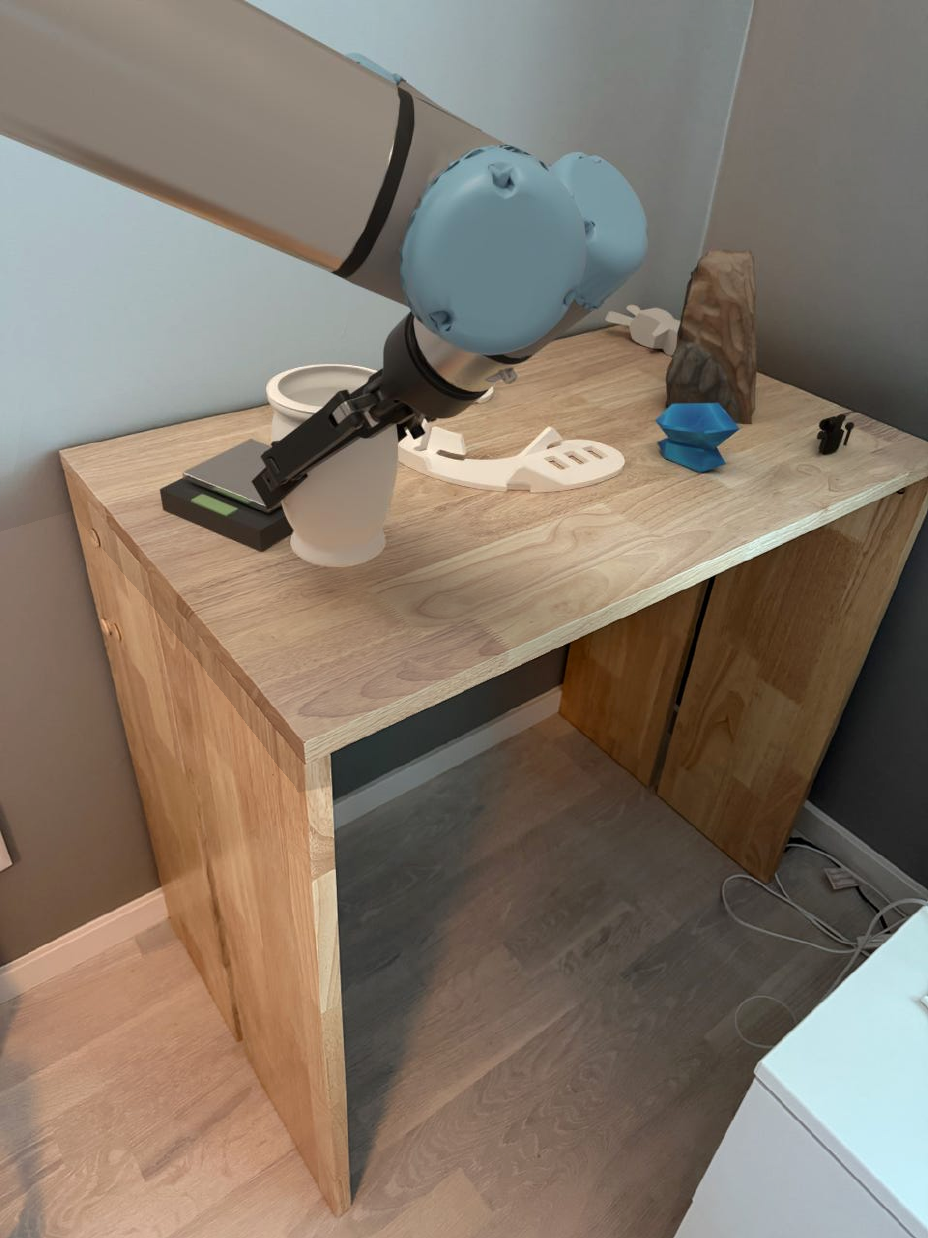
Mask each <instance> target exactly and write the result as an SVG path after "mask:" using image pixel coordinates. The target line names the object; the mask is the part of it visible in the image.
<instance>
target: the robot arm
mask: <svg viewBox="0 0 928 1238" xmlns="http://www.w3.org/2000/svg"><path fill="white" fill-rule="evenodd" d="M0 136H3V137H4V138H6V139H10V140H12V141H14V142H17V143H20V144H22V145H24V146H27V147H28V148H31V149H34V150H36V151H39V152H41V153H43V154H46V155H48V156H50V157H53V158H56V159H58V160H60V161H63V162H65V163H67V164H70V165H72V166H75V167H77V168H79V169H81V170H84V171H87V172H88V173H91V174H94V175H96V176H99V177H101V178H103V179H106V180H108V181H110V182H113V183H115V184H117V185H120V186H123V187H125V188H128V189H130V190H131V191H135V192H137V193H139V194H142V195H144V196H147V197H149V198H151V199H154V200H156V201H159V202H161V203H163V204H166V205H168V206H171V207H173V208H174V209H177V210H180V211H183V212H184V213H187V214H190V215H192V216H194V217H196V218H199V219H202V220H204V221H207V222H208V223H211V224H213V225H215V226H218V227H220V228H223V229H225V230H228V231H230V232H233V233H235V234H238V235H240V236H242V237H245V238H247V239H250V240H252V241H254V242H256V243H258V244H261V245H264V246H266V247H268V248H271V249H274V250H276V251H278V252H281V253H283V254H286V255H288V256H290V257H292V258H295V259H298V260H299V261H301V262H305V263H307V264H309V265H312V266H314V267H317V268H319V269H321V270H324V271H326V272H328V273H330V274H333V275H334V276H337V277H339V278H341V279H343V280H345V281H347V282H349V283H350V284H353V285H355V286H357V287H360V288H363V289H365V290H367V291H369V292H371V293H375V294H376V295H379V296H382V297H384V298H386V299H389V300H391V301H394V302H396V303H398V304H400V305H403V306H405V307H407V308H409V310H410V311H409V312H408V313H407V314H406V315H405V316H404V317H403V318H402V319H401V320H400V321H399V322H398V323H397V324H396V326H394V327H393V328H392V329H391V331H390V332H389V334H388V335H387V337H386V339H385V341H384V345H383V351H382V368H380V369H378V370H376V371H377V372H376V373H374V374H373V375H371V376H370V377H369V379H368V382H367V383H366V384H364V385H363V386H361V387H360V388H358V389H357V390H355V391H354V392H352V393H351V394H349V392H348V390H341V391H339V392H337V393H336V395H335V396H333V397H332V398H331V399H330V401H329V402H328V403H327V404H326V405H325V406H324V407H323V408H321V409H320V410H319V411H318V412H316V413H315V414H314V415H312V416H311V417H310V418H309V419H307V420H306V421H305V422H303V423H302V424H301V425H300V426H298V427H297V428H296V429H294V430H293V431H292V432H290V433H289V434H288V435H287V436H285V437H284V438H283V439H281V440H280V441H273V442H272V443H271V442H270V446H272V447H271V448H270V449H269V450H267V451H265V452H264V453H263V454H262V455H261V456H260V457H261V459H262V461H263V462H264V464H265V466H266V467H265V468H264V469H263V470H262V471H261V472H260V473H259V474H258V475H257V476H256V477H255V478H254V479H253V480H252V481H251V482H252V483H253V485H254V487H255V488H256V490H257V492H258V494H259V495H260V497H261V499H262V501H263V502H264V504H265V506H266V508H267V509H270V508H272V507H275V506H276V505H277V504H278V503H279V502H280V501H281V500H283V499H284V498H285V497H286V496H287V495H288V494H289V493H290V492H292V491H293V490H294V489H295V488H296V487H297V486H298V485H299V484H300V483H302V482H303V481H304V480H305V479H306V478H307V477H308V475H307V472H309V471H310V470H312V469H314V468H315V467H317V466H318V465H320V464H321V463H323V462H324V461H326V460H327V459H329V458H331V457H332V456H334V455H335V454H337V453H338V452H340V451H341V450H343V449H344V448H346V447H348V446H349V445H351V444H352V443H354V442H355V441H357V440H358V439H360V438H363V439H369V438H374V437H375V436H377V435H378V434H380V433H382V432H383V431H385V430H386V429H388V428H389V427H391V426H392V425H394V424H396V427H397V434H398V443H399V442H400V441H401V440H403V439H404V438H405V437H406V436H407V433H406V430H407V429H408V430H409V432H410V434H411V436H412V437H413V439H414V440H415V439H417V438H419V437H421V436H423V435H424V434H425V431H424V429H423V427H422V423H423V420H424V419H426V421H427V423H429V422H430V423H434V422H436V421H437V419H439V420H445V419H451V418H454V417H456V416H459V415H460V414H461V413H463V412H464V411H465V410H467V409H468V408H469V407H471V406H472V405H473V404H475V403H474V402H475V401H477V400H478V399H479V398H480V397H482V396H483V395H484V394H485V393H486V392H487V391H488V390H489V389H490V388H491V387H493V388H494V386H496V385H498V383H499V382H501V381H503V383H505V384H506V385H511V384H513V383H515V382H516V381H517V379H518V375H517V373H516V371H515V368H517V367H519V366H521V365H522V364H524V363H525V362H526V361H528V360H529V359H531V358H532V357H533V356H534V355H536V354H537V353H539V352H540V351H542V349H544V348H545V347H546V346H548V345H549V344H550V343H552V342H553V341H554V340H555V339H557V338H558V337H560V336H562V335H563V334H564V333H566V331H568V330H569V329H570V328H572V327H574V326H575V325H576V324H577V323H578V322H580V321H581V320H582V319H584V318H586V316H587V315H589V314H591V313H592V312H593V311H596V310H599V309H600V308H601V307H602V306H603V304H605V302H606V301H607V300H608V299H609V298H610V297H612V296H613V294H614V293H616V292H617V291H618V290H619V289H620V288H621V287H623V285H625V284H626V283H627V281H629V279H631V278H632V276H633V275H635V273H637V271H638V270H639V269H640V267H642V265H643V263H644V261H645V259H646V257H647V254H648V250H649V241H648V237H649V236H648V235H649V226H648V225H649V224H648V220H647V217H646V214H645V211H644V207H643V205H642V203H641V201H640V199H639V196H638V195H637V193H636V191H635V190H634V188H633V187H632V185H631V184H630V183H629V181H628V180H627V179H626V178H625V176H624V175H623V174H622V173H621V172H620V171H619V170H618V168H616V167H615V166H614V165H612V164H611V163H610V162H608V161H607V160H605V159H604V158H602V157H601V156H598V155H587V154H586V153H585V152H582V151H572V152H569V153H567V154H565V155H563V156H561V157H560V158H559V159H558V160H556V161H555V162H554V163H552V164H549V165H547V164H546V163H545V162H543V161H542V160H540V159H538V158H537V157H535V156H533V155H532V154H530V153H528V152H526V151H523V150H522V149H520V148H518V147H516V146H514V145H509V144H506V143H505V142H503V141H501V140H500V139H497V138H496V137H494V136H492V135H490V134H488V133H487V132H485V131H483V130H482V129H480V128H478V127H477V126H474V125H473V124H472V123H470V122H469V121H466V120H464V119H463V118H461V117H460V116H458V115H456V114H455V113H453V112H451V111H449V110H448V109H445V108H444V107H442V106H441V105H439V104H438V103H436V101H434V100H433V99H431V98H430V97H428V96H426V94H424V93H422V92H421V91H420V90H418V89H417V88H416V87H414V86H413V85H411V84H410V83H409V82H408V81H407V80H406V79H404V77H403V76H402V75H400V74H398V73H392V71H391V72H390V71H389V70H388V69H385V68H384V67H382V66H381V65H380V64H378V63H376V62H375V61H374V60H371V59H370V58H368V57H367V56H365V55H363V54H361V53H357V52H349V53H345V54H342V53H341V52H339V51H337V50H336V49H334V48H332V47H330V46H328V45H326V44H324V43H323V42H322V41H319V40H317V39H315V38H314V37H312V36H310V35H308V34H306V32H303V31H301V30H299V29H298V28H296V27H294V26H292V25H290V24H289V23H287V22H284V21H283V20H281V19H279V18H277V17H276V16H274V15H272V14H270V13H268V12H266V11H265V10H263V9H261V8H259V7H258V6H255V5H254V4H252V3H250V2H248V1H246V0H0ZM367 411H368V413H369V414H370V416H371V418H372V419H373V420H374V421H375V422H377V423H378V424H376V425H375V426H373V427H372V426H371V425H370V423H369V421H368V420H367V418H366V416H365V414H364V413H365V412H367Z"/></svg>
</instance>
